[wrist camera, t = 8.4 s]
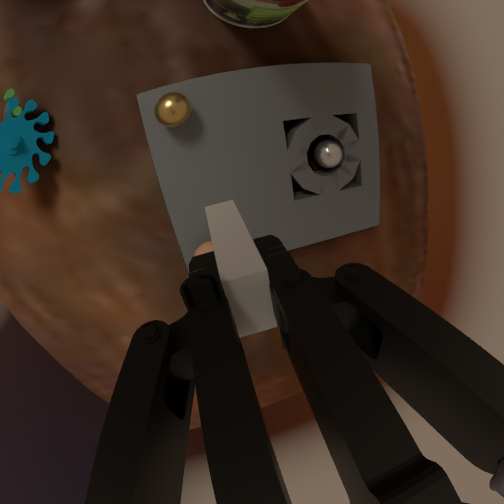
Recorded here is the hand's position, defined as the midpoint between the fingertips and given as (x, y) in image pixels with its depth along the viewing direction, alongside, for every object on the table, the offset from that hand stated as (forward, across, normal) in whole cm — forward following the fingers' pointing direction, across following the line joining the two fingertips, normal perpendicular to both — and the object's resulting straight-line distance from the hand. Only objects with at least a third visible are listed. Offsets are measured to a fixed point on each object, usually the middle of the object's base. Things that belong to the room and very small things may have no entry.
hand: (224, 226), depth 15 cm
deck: (+15, +6, -1) cm, 16 cm away
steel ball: (+14, +13, -1) cm, 19 cm away
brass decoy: (+11, -2, +7) cm, 13 cm away
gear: (+16, -18, +10) cm, 26 cm away
